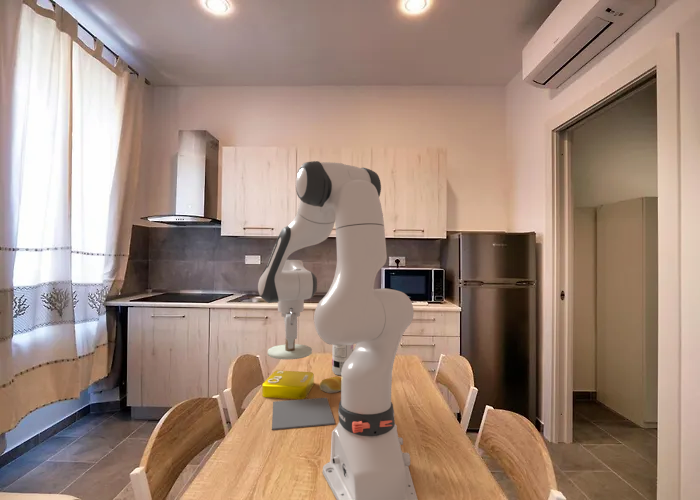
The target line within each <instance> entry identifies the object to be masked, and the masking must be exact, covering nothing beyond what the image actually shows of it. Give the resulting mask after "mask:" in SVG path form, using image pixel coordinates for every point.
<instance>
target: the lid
mask: <svg viewBox="0 0 700 500" xmlns="http://www.w3.org/2000/svg"><path fill="white" fill-rule="evenodd" d="M284 340H285V343H284V344H280V345H279V344H278V345H274V346H272V347H270V348H268V349H267V356H268V357H269V358H272V359H277V360H298V359H303V358H307V357H309V356H311V355H312V353H313V349H312V348H313V347H310V346H308V345H305V344H299V343H296V339H294V342H293V348H292V349H289V348H288V339H286V337H285V339H284Z"/></svg>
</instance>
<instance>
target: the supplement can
mask: <svg viewBox="0 0 700 500" xmlns="http://www.w3.org/2000/svg"><path fill="white" fill-rule="evenodd" d="M353 351H354V344H353V345H332V362H331V363H332V367H331V368H332V370H331V371H332V373H333V374H335V376H339V377H341V371H342V367H343V364H344V363H345V361H346V360H347V359H348V358H349V356H350V355H351V354H352V352H353Z"/></svg>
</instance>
